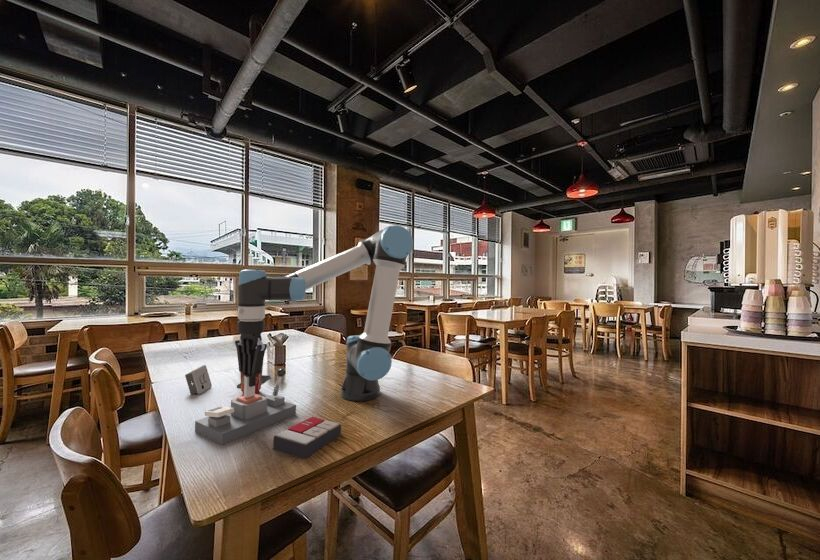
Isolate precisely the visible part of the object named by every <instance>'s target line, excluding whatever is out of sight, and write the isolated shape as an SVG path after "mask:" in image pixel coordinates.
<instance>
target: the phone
mask: <svg viewBox="0 0 820 560" xmlns="http://www.w3.org/2000/svg"><path fill="white" fill-rule="evenodd" d="M269 379H271V375H265V374H264V375H263V374H262V380H261V385H262V384H263V383H266V382H267V381H268V380H269ZM236 388H237V389H241V382H240V383H238V384H236Z"/></svg>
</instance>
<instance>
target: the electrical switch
mask: <svg viewBox="0 0 820 560" xmlns="http://www.w3.org/2000/svg"><path fill="white" fill-rule="evenodd" d="M207 367H208V366H207V365H206V364H204V365H200V366H199V367H197V368H195V369H193V370H191V371H190V372H188V373H186V374H185V376H184V377H185V380H186V382H187V386H188V389H189V390H188V391H189V393H190V395H194V394H196V395H201V394H203V393H204V392H206V391H207V390H208V389H210V388H212V386H213V385H212V381H211V379H210V373H209V372H208V371H209V370H208V368H207Z"/></svg>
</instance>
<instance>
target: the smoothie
mask: <svg viewBox="0 0 820 560" xmlns="http://www.w3.org/2000/svg"><path fill="white" fill-rule="evenodd" d="M263 366H264V363H263V364H262V370H261V373H260V374H257V375H256V384H255V394H257V395H258V394H259V393H260V390H261V388H262V384H261V380H262V375H263ZM239 374H240V383H241V388H240V391H241V392H242V395H244V375H243V372H240V371H239Z"/></svg>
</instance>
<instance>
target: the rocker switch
mask: <svg viewBox="0 0 820 560" xmlns="http://www.w3.org/2000/svg"><path fill="white" fill-rule="evenodd" d="M233 412H234V408H231V406H230V407H229V406H218V407H215V408H211V409H208V410H205V411H204V416H205V417H208V416H210V417H221V416H224V415H227V414H230V413H233Z"/></svg>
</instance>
